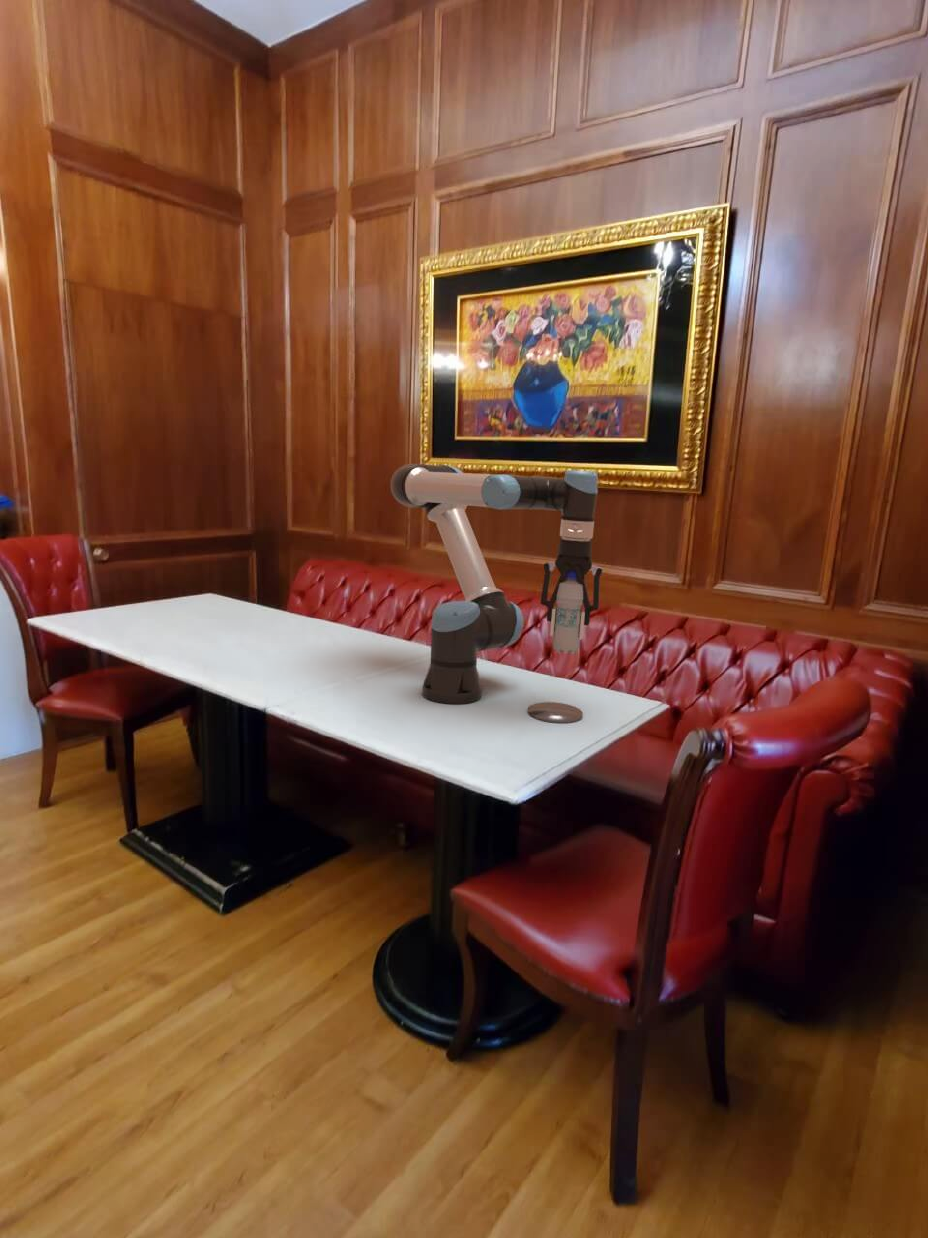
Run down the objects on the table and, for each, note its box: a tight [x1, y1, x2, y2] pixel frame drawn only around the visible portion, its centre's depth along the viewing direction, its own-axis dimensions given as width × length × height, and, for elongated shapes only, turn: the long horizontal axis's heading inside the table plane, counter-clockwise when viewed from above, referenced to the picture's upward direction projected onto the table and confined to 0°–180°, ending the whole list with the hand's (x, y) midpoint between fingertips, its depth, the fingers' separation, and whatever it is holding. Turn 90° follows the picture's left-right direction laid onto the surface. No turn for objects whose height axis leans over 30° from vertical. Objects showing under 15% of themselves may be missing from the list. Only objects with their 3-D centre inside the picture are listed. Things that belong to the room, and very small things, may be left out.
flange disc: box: [527, 701, 584, 724], centre depth 167 cm, size 13×13×1 cm
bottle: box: [552, 571, 584, 655], centre depth 164 cm, size 7×7×20 cm
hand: (566, 636), depth 166 cm, fingers closed on bottle, 6 cm apart
